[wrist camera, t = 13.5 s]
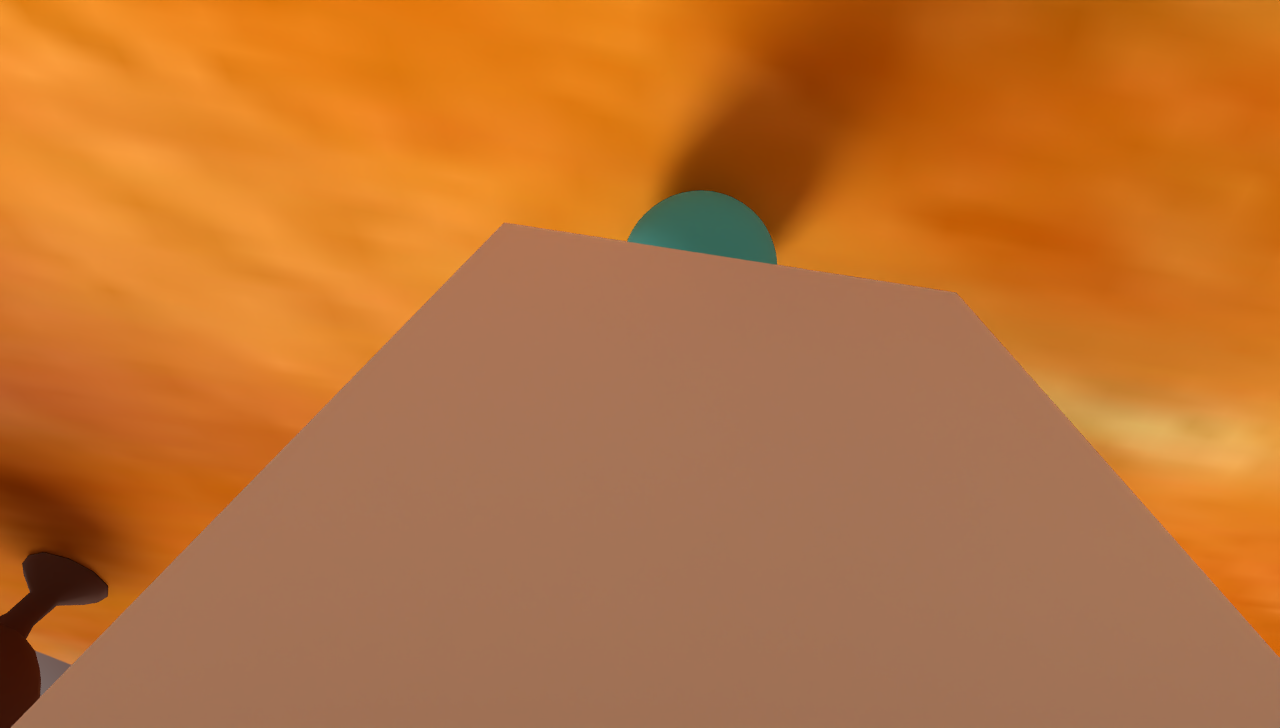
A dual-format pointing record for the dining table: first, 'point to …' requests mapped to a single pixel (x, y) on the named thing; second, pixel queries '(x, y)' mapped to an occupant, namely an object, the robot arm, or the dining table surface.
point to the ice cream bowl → (3, 659)
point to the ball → (706, 227)
